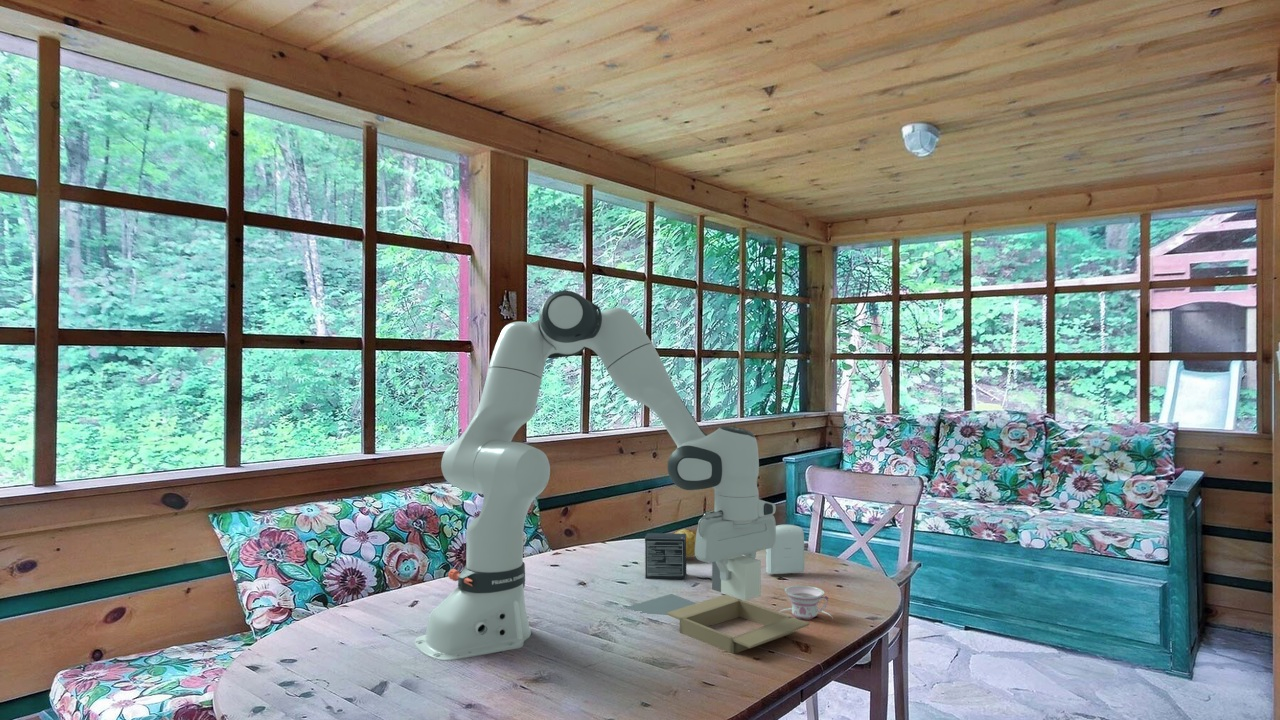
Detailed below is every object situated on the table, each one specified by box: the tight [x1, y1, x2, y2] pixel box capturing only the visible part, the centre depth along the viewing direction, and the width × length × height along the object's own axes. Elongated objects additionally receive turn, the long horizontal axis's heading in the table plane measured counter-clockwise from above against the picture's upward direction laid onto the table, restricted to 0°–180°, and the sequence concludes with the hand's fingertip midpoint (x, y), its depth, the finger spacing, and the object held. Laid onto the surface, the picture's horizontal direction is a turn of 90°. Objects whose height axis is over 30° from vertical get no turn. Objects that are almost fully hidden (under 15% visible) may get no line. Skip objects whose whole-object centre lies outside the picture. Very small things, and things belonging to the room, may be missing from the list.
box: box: [711, 555, 762, 602], centre depth 145 cm, size 4×9×7 cm, turn 39°
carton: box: [665, 594, 810, 655], centre depth 145 cm, size 18×23×4 cm
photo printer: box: [765, 524, 805, 575], centre depth 190 cm, size 10×4×12 cm, turn 99°
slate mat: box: [625, 593, 697, 616], centre depth 161 cm, size 14×13×1 cm
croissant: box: [673, 528, 697, 558], centre depth 206 cm, size 21×10×8 cm
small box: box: [644, 532, 687, 580], centre depth 187 cm, size 11×6×10 cm, turn 84°
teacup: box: [778, 584, 834, 621], centre depth 156 cm, size 12×12×6 cm
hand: (736, 577), depth 145 cm, fingers closed on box, 4 cm apart
